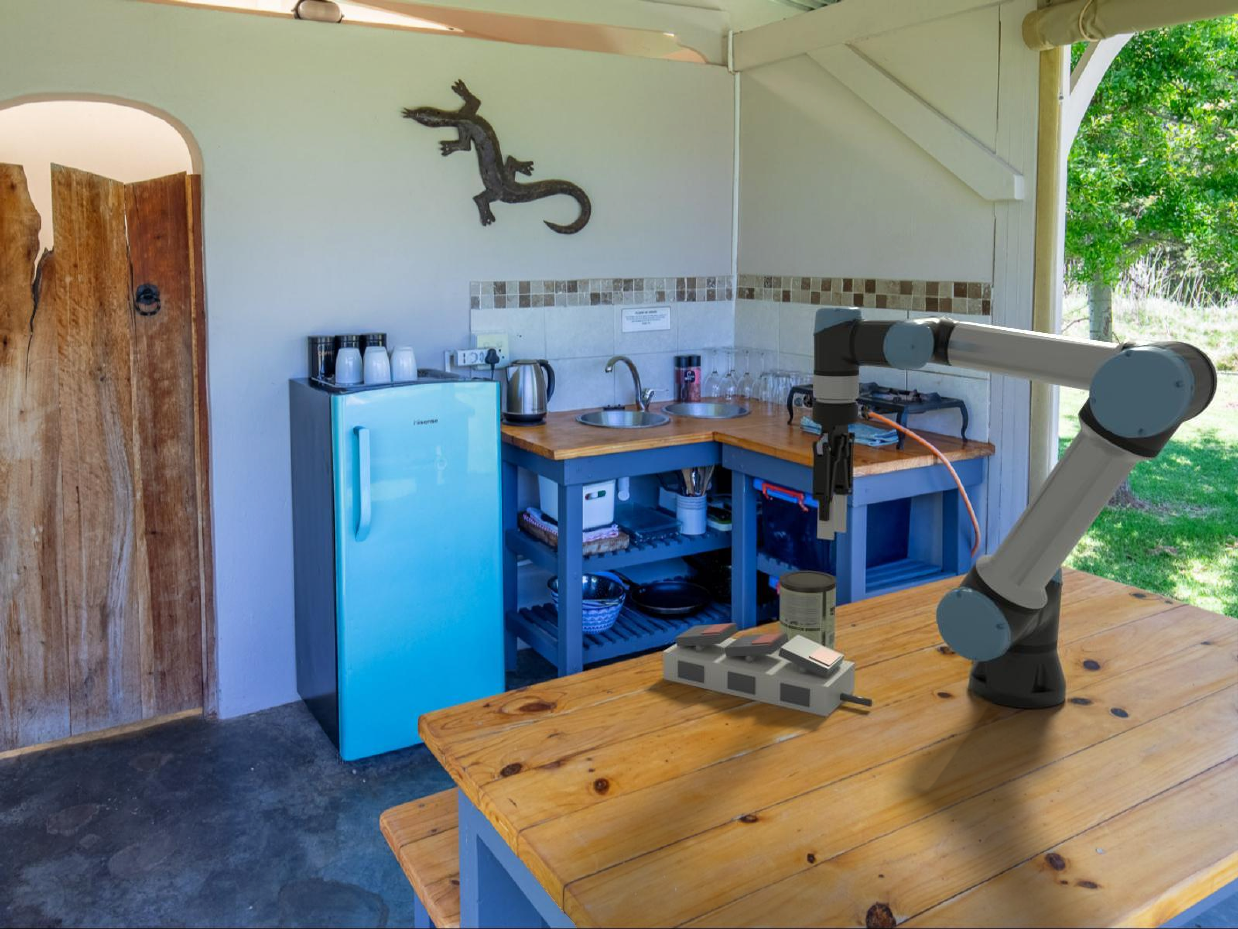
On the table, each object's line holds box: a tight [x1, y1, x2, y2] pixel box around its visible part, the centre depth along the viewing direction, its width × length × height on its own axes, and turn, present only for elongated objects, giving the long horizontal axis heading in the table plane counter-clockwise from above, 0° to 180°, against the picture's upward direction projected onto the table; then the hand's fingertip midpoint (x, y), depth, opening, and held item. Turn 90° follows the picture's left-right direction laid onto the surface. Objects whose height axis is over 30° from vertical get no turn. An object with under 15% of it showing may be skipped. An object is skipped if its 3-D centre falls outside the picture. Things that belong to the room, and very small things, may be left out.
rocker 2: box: [724, 632, 789, 657], centre depth 178 cm, size 8×7×2 cm
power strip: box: [662, 637, 873, 717], centre depth 178 cm, size 35×12×6 cm, turn 57°
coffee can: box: [779, 570, 838, 651], centre depth 193 cm, size 10×10×14 cm
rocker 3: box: [778, 635, 845, 678], centre depth 173 cm, size 8×7×2 cm
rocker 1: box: [674, 622, 739, 647], centre depth 183 cm, size 8×7×2 cm
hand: (831, 534), depth 181 cm, fingers open, 5 cm apart
